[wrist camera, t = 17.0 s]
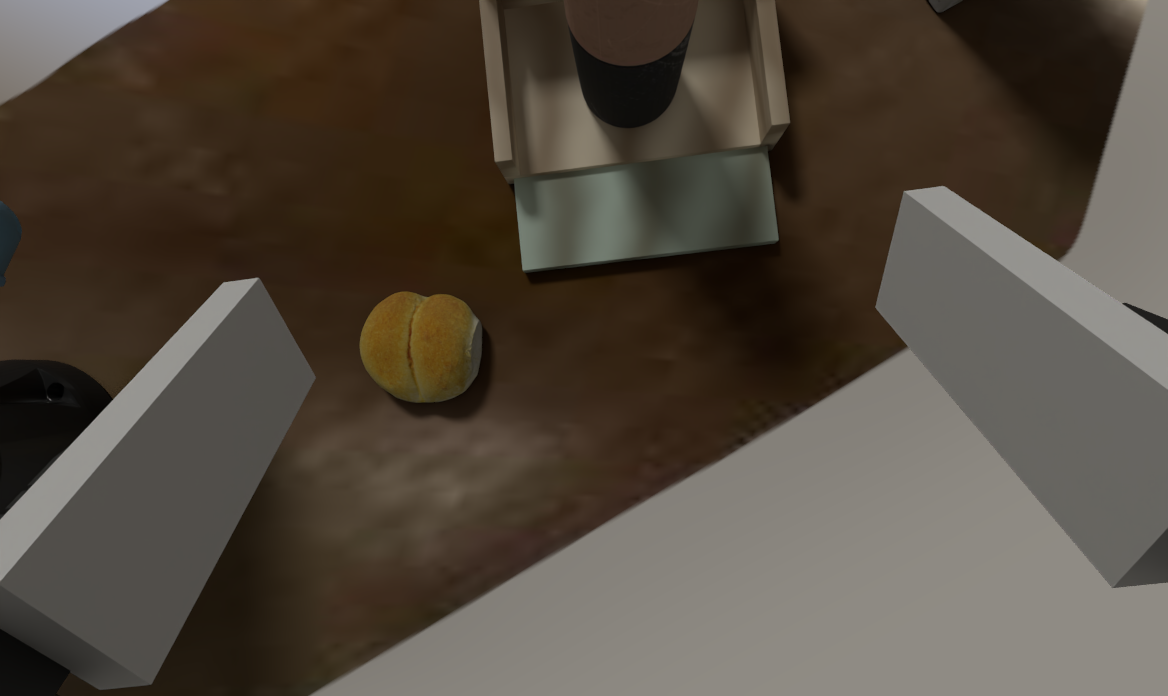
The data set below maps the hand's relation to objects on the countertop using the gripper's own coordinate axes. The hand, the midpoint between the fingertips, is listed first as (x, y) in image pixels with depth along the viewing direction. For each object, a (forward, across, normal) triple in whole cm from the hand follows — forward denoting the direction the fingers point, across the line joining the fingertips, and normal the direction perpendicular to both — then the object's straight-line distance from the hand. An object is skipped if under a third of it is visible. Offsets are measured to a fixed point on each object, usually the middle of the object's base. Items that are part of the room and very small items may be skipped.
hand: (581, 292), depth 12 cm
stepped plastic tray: (+33, +4, -6) cm, 34 cm away
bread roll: (+24, -13, -18) cm, 33 cm away
